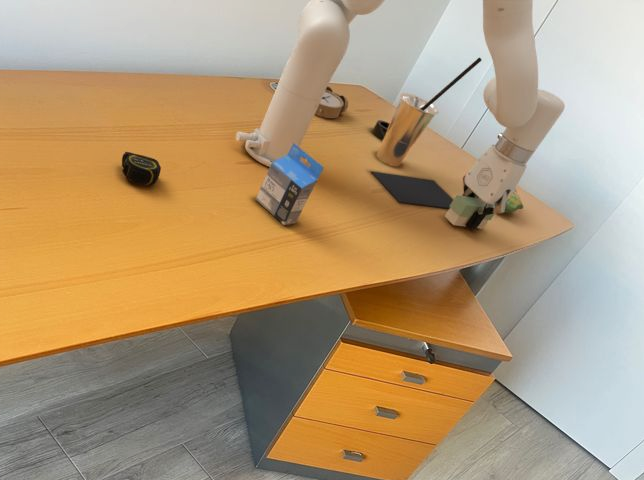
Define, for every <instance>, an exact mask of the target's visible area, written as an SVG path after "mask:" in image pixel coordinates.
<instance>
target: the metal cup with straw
mask: <svg viewBox="0 0 644 480" xmlns="http://www.w3.org/2000/svg"><path fill="white" fill-rule="evenodd" d="M482 61H483V60H482V58H481V57H478V58H477V59H475V61H473V62H472V63H471V64H470V65H468V67H467V68H464V70H463V71H461V72H460V73H459V74H458V75H457V76H456V77H455V78H454V79H453V80H452V81H450V82H449V83H448V84H447V85H446V86H444V88H442V89H441V90H440V91H439V92H438V93H437V94H435V96H433V97H432V98H431V99H430V100H429V101H428V100H426V99H424V98H422V97H420V96H417V95H414V94H412V93H408V92H407V93H406V92H401V93H400V94H399V101H398V103H397V106H396V108H395V110H394V113H393V115H392V117H391V119H390V122H389V123H390V124H389V127H388V129H387V132H386V134H385V137H384V139H383V140H382V142H381V144H380V145H379V149H378V151H377V153H376V157H377V159H378V160H379V161H381V162H382V163H384V164H386V165H388V166H391V167H396V168H397V167H400V166H401V164H402V162H403V161H404V160H405V158H406V157H407V155H408V154H409V152H410V151H411V149H412V148H413V147H414V146H415V144H416V143H417V141H418V140H419V138H420V137H421V136H422V134H423V133H424V131H425V130H426V128H427V127H428V126H429V124H430V123H431V121H432V120H433V119H434V117H436V115H439V113H440V111H439V109H438V108H437V107H436V105H434V103H435V102H436V101H437V100H438V99H439V98H440V97H442V96H443V95H444V94H445V93H446V92H447V91H448V90H450V89H451V88H452V87H453V86H455V85H456V84H457V83H458V82H459V81H461V79H462V78H464V77H465V76H466V75H467V74H468V73H469V72H470V71H471V70H473V69H474V68H475V67H476V66H478V65H479V64H480V63H481V62H482Z"/></svg>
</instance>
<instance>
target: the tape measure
mask: <svg viewBox="0 0 644 480" xmlns="http://www.w3.org/2000/svg"><path fill="white" fill-rule="evenodd" d="M121 167H122V174H123V175H124V177H125V178H126V179H127V180H129V181H131V182H133V183H135V184H138V185H141V186H142V185H143V186H152V185H155V184H156V183H157V182H158V180H159V177H160V174H161V169H162V167H161V165H160V163H159V161H158V160H157V159H155V158H153V157H150V156H146V155H142V154H138V153H134V152H129V151H125V152H124V153H123V154H122V157H121Z"/></svg>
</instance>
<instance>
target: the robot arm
mask: <svg viewBox="0 0 644 480" xmlns="http://www.w3.org/2000/svg"><path fill="white" fill-rule="evenodd" d="M385 1H386V0H309V1H308V2H307V3H306V5H305V6H304V8H302V11H301V13H300V16H299V19H298V37H297V41H296V43H295V45H294V47H293V49H292V52H291V54H290V56H289V58H288V60H287V62H286V64H285V66H284V69H283V70H282V74H281V76H280V79H279V80H278V81H279V82H278V84H277V86H276V89H275V91H274V94H273V95H272V99H271V101H270V103H269V105H268V108H267V110H266V113H265V115H264V117H263V119H262V122H261V124H260V127H259V128H254V130H253V132H249V133H247V132H244V131H237V132H236V134H235V140H236V142H240V143H241V142H242V143H245V146H244V148H245V150H246V152H247V154H248V155H249V156H250V157H251V158H253V159H254V160H255V161H257V162H259V163H260V164H262V165H264V166H266V167H268V168H270V166H271V163H273V162H274V161H276V160H278V159H280V158H282V157H284V156H285V155H287V154H288V153H289V151H290V149H291V147H292V145H293V143H295V144H296V145H297V146H298V147H299V148H301V145H302V142H303V140H304V138H305V136H306V134H307V132H308V129H309V128H310V126H311V123H312V121H313V119H314V117H315V112H316V110H317V108H318V106H319V104H320V101H321V99H322V97H323V95H324V92H325V90H326V88H327V86H329V84H330V81H331V80H332V79H333V76H334V75H335V72H336V71H337V69H338V68H339V65H340V64H341V63H342V61H343V59H344V57H345V55H346V53H347V50H348V47H349V44H350V36H351V35H350V33H351V32H350V31H351V30H350V24H351V22H352V21H353V20H354V19H355V18H356V17H357V16H358V15H359V16H365V15H369V14H372V13H373V12H375V11H376V10H377V9H379V8H380V6H382V4H383V3H384V2H385ZM533 1H534V0H482V30H483V31H482V32H483V35H484V41H485V44H486V47H487V50H488V52H489V55H490V57H491V60H492V64H493V68H494V74H495V76H494V77H492V78H491V79H490V80H488V81H487V83H486V85H485V86H484V89H483V94H482V95H483V97H482V98H483V102H484V104H485V106H486V107H487V109H488V110H489V112H490V113H491V114H492V115H493V117H494V119H495V120H496V122H497V123H498V124H499V125H501V126H502V127H504V128H505V129H504V131H503V132H500V133H499V134H497V139H498V140H497V142H496V143H495V144H491V145H490V146H488V147H487V148H486V149H485V151H484V152H483V153H482V154H480V156H479V157H478V159H477V160H476V162H475V163H474V164H473V166H472V167H471V168H470V169H469V171H468V172H467V174H465V175H464V176H463V177H462V183H463V194H462V195H461V196H466V197H473V198H480V199H481V200H482V203H481V205H480V208H479V210H478V212H474V213H473V215H472V216H471V218H470V219H469V220H468V222H467V223H466V228H467V229H475V230H476V229H478V228H477V227H478V226H479V225H480V223H481V222H482V220H483V219H484V218H485V216H486V215H490V214H495V215H496V214H499V215H500V214H504V213H505V212H504V211H505V205H506V201H507V200H508V198H509V197H510V196H511V194H512V193H513V191H514V189H516V188H517V186H518V185H519V183H520V182H521V179H522V177H523V176H524V173H525V172H526V169H527V163H528V162H529V160H530V159H531V158H532V156H533V155H534V153H535V152H536V151H537V149H539V146H540V145H541V143H542V142H543V141H544V139H545V138H546V136H547V135H548V134H549V132H550V131H551V129H552V128H553V127H554V125H555V123H556V122H557V121H558V119H559V118H560V116H561V115H562V114H563V112H564V111H565V107H566V105H565V102H564V101H563V99H561V98H560V97H558V96H557V95H555V94H553V93H551V92H549V91H547V90H544V89H541V88H540V89H539V65H538V57H537V49H536V48H537V47H536V39H535V31H534V25H533ZM495 204H497V206H496V207H494V206H495ZM487 205H488V206H487ZM486 207H487V208H486Z"/></svg>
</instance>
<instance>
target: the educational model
mask: <svg viewBox="0 0 644 480" xmlns="http://www.w3.org/2000/svg"><path fill="white" fill-rule="evenodd" d="M496 206H497V204H495V207H496ZM523 209H524V204H523V202H522V199H521V197H520V196H519V194H518V191H517V189H516V188H515V189H514V191H513V193H512V194H511V196H510V197H509V198H508V200H507V201H506V205H505V211H504V213H508V214H511V213H515V212H516V211H518V210H523Z"/></svg>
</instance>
